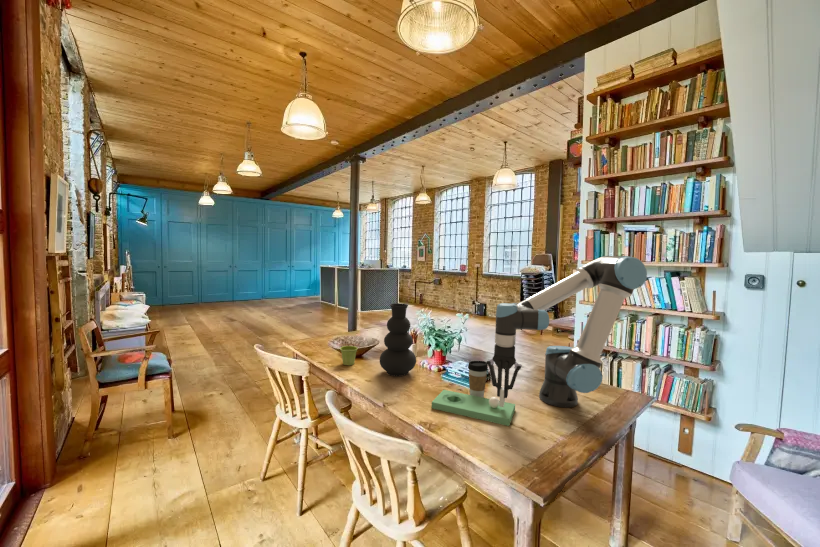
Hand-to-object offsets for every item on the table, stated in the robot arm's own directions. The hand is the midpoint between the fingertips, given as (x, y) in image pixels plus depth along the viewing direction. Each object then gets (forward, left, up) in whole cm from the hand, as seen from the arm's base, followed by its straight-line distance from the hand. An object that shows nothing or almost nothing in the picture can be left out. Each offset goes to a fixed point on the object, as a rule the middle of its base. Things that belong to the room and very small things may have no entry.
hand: (501, 405), depth 133 cm
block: (+11, 0, -4) cm, 12 cm away
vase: (+56, -21, -4) cm, 60 cm away
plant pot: (+86, -21, -4) cm, 88 cm away
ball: (+3, 0, 0) cm, 3 cm away
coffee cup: (+13, -13, -4) cm, 19 cm away
